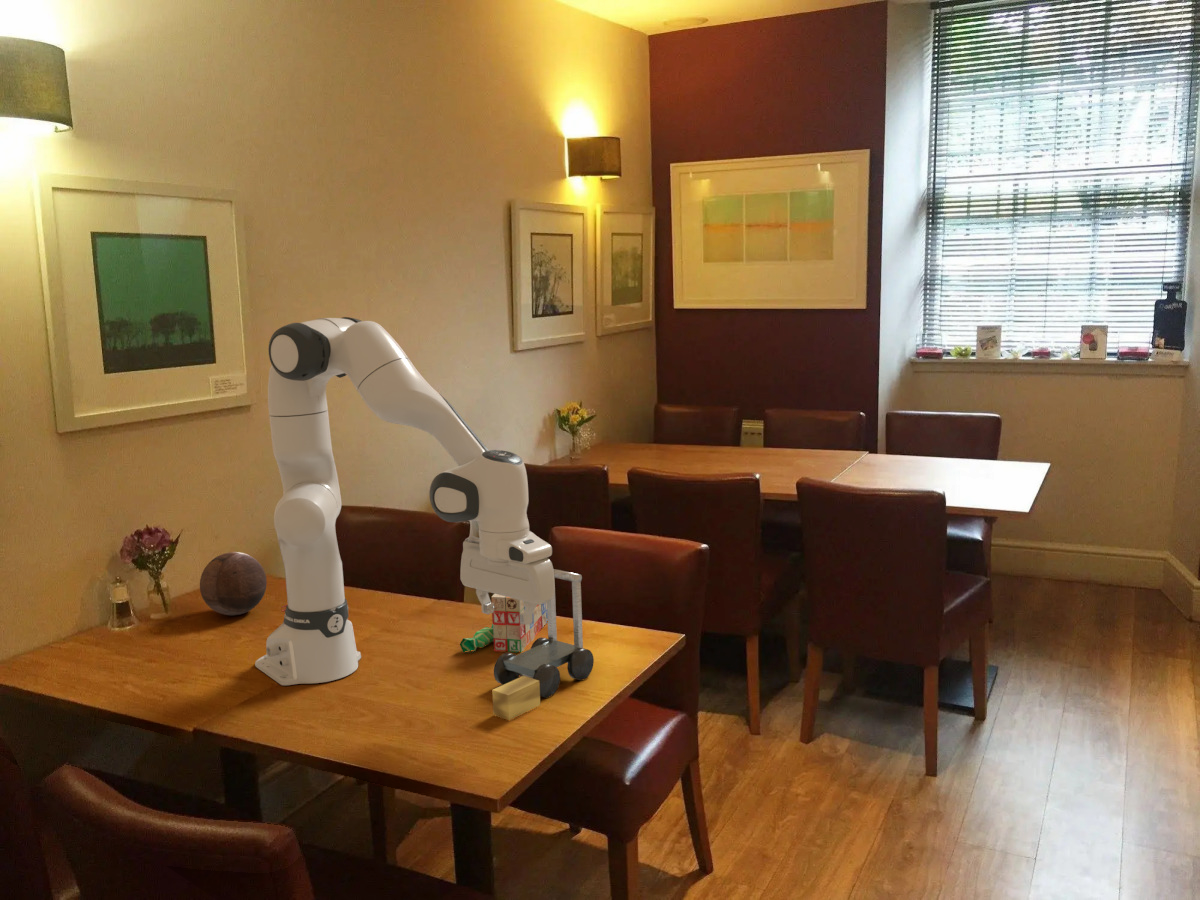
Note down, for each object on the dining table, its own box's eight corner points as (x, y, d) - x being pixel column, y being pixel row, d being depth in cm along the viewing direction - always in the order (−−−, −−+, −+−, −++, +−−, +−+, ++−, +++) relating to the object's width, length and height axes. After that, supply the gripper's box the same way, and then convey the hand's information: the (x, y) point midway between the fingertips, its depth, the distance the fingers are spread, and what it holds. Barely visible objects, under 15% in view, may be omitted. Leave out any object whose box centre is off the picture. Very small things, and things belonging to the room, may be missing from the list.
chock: (493, 716, 180) (492, 689, 179) (524, 701, 186) (523, 675, 185) (509, 721, 178) (508, 695, 177) (540, 706, 184) (539, 680, 183)
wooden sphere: (281, 605, 247) (275, 545, 244) (246, 625, 232) (240, 563, 230) (226, 602, 250) (221, 544, 247) (189, 622, 236) (183, 560, 233)
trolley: (550, 661, 204) (546, 564, 201) (594, 674, 197) (590, 573, 194) (494, 687, 192) (489, 584, 189) (539, 702, 185) (534, 595, 182)
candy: (490, 630, 222) (498, 617, 220) (501, 640, 221) (509, 627, 219) (457, 648, 212) (465, 634, 210) (468, 659, 211) (476, 645, 209)
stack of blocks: (524, 618, 232) (522, 566, 230) (550, 619, 230) (548, 567, 228) (493, 651, 211) (490, 595, 209) (521, 653, 210) (519, 597, 208)
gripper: (450, 537, 181) (453, 611, 183) (534, 556, 168) (536, 634, 170) (476, 530, 186) (478, 602, 188) (559, 547, 173) (560, 624, 175)
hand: (506, 618), depth 179 cm, fingers open, 8 cm apart
